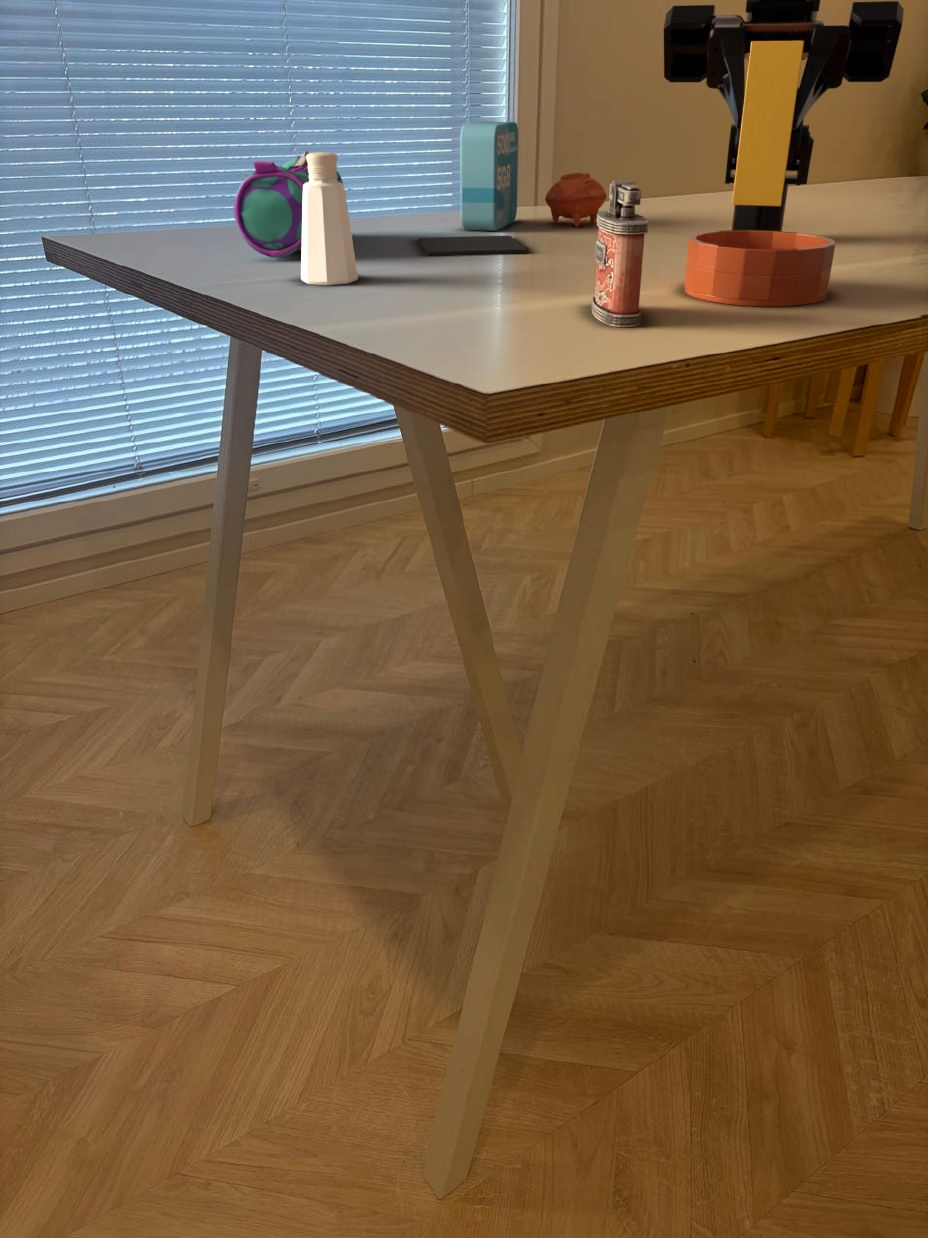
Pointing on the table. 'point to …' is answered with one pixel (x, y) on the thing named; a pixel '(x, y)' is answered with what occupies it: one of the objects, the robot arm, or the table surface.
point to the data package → (488, 175)
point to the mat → (471, 245)
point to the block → (767, 122)
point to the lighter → (619, 257)
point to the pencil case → (273, 206)
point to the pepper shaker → (326, 225)
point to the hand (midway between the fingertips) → (766, 124)
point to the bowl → (758, 267)
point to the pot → (575, 197)
